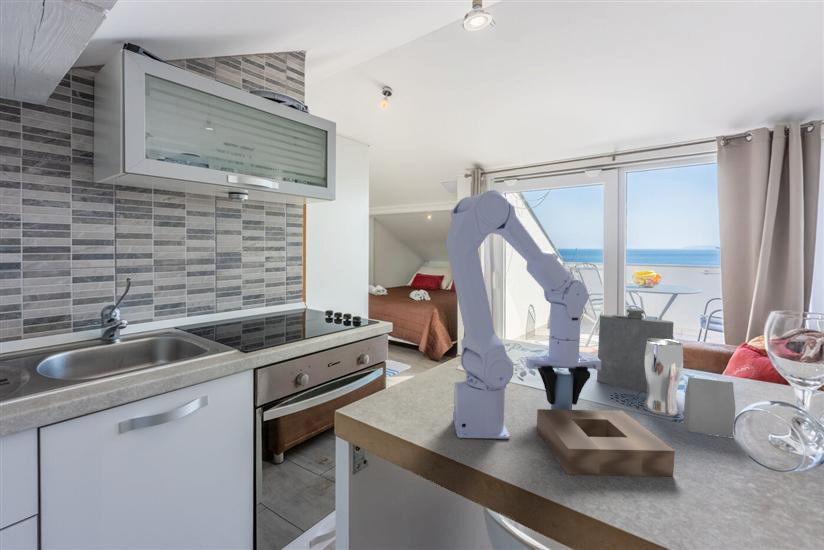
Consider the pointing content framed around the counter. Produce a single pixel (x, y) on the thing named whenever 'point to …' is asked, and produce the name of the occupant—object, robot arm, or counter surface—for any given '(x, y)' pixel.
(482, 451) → the counter surface
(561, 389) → the peg
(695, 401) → the grey angular block
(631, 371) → the hip flask
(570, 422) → the socket board
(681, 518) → the counter surface
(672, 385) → the silver metal tumbler
